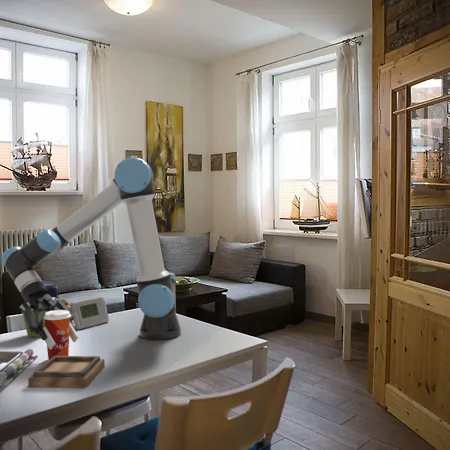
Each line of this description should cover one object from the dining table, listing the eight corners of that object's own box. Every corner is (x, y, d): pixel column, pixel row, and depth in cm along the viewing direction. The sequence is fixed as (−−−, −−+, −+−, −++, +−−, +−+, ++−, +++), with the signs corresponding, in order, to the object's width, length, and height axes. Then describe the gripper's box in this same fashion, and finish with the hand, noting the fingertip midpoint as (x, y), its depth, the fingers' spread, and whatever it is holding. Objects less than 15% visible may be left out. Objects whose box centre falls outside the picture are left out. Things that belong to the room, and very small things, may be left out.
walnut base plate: (104, 367, 149) (104, 355, 149) (86, 387, 133) (85, 374, 133) (52, 366, 150) (52, 354, 150) (28, 387, 134) (27, 373, 134)
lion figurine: (53, 319, 208) (52, 298, 208) (64, 317, 212) (63, 296, 212) (73, 325, 199) (72, 303, 198) (84, 322, 203) (84, 300, 203)
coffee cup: (63, 364, 152) (62, 315, 151) (39, 362, 154) (38, 314, 153) (77, 355, 160) (75, 309, 159) (53, 354, 162) (52, 308, 161)
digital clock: (75, 331, 190) (75, 303, 189) (65, 326, 197) (64, 300, 196) (113, 323, 201) (113, 297, 200) (102, 319, 207) (102, 294, 207)
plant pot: (38, 329, 193) (37, 300, 192) (61, 333, 187) (60, 303, 187) (13, 337, 182) (12, 307, 182) (36, 341, 177) (35, 310, 176)
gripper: (53, 289, 173) (85, 341, 165) (-3, 300, 156) (30, 359, 148) (62, 275, 170) (96, 328, 162) (6, 285, 152) (40, 344, 144)
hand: (64, 343), depth 155 cm, fingers closed on coffee cup, 8 cm apart
